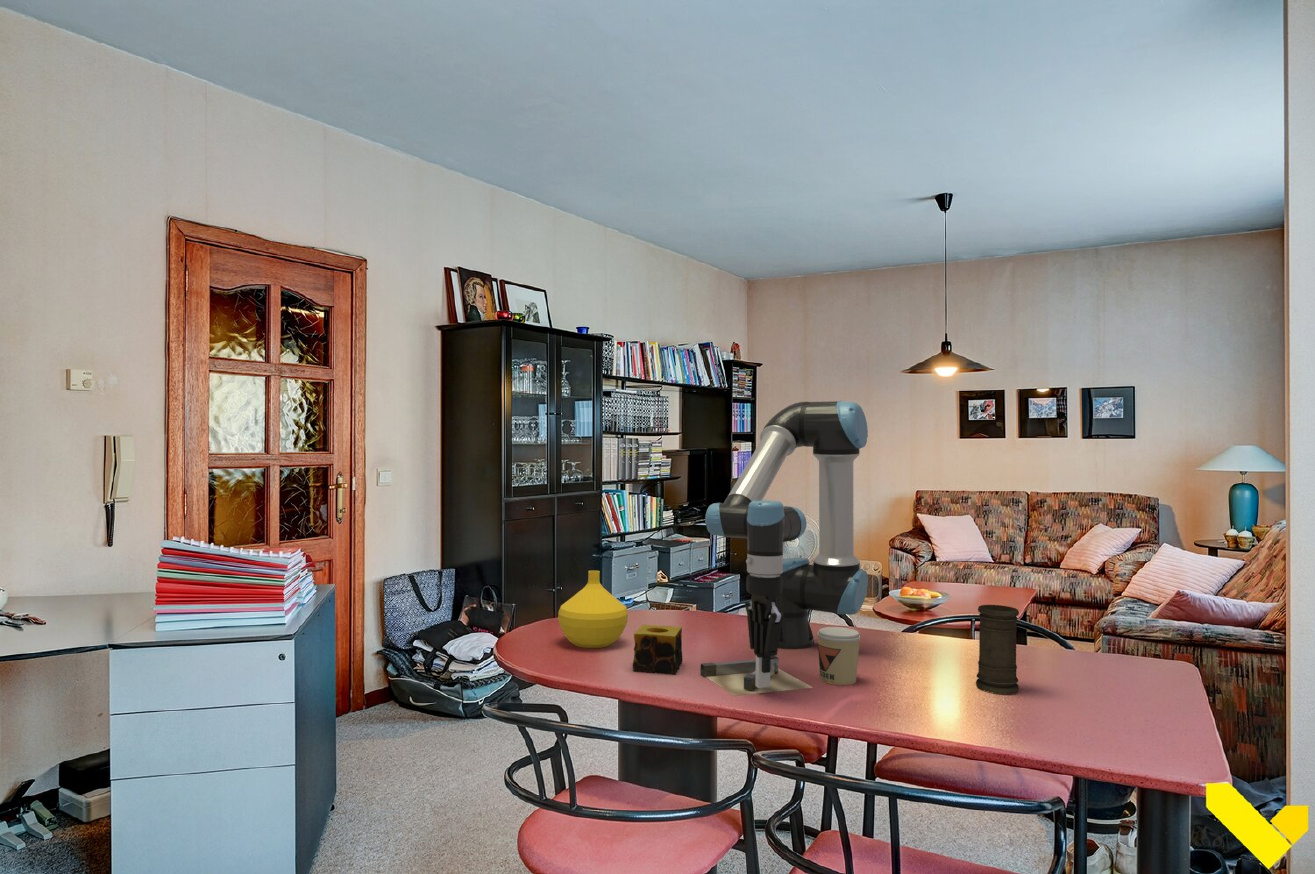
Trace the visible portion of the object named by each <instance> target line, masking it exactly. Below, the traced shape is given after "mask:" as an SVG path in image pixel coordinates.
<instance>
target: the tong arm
mask: <svg viewBox="0 0 1315 874" xmlns="http://www.w3.org/2000/svg"><path fill="white" fill-rule="evenodd" d="M774 657H777V655H776V656H772V657H771V658H774ZM770 666H771V667H770V678H771V677H773V676H774V665H773V664H771V665H770ZM755 676H756V671H754V672H753V673H751V674H748V675H746V676H745V677H744V689H747V690H754V689H755V688H757V687H756V686H755Z"/></svg>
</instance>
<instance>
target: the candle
mask: <svg viewBox="0 0 1315 874" xmlns="http://www.w3.org/2000/svg"><path fill="white" fill-rule="evenodd" d="M682 632H683V627H682V626H674V625H673V626H671V625H657V624H656V625H653V624H642V625H641V626H640V627H639V628H638V630H636V631H635V632H634V633H633V641H634V647H633V651H634V653H633V662H632V672H634V673H644V674H645V673H646V674H662V675H663V674H664V675H671V676H676V675H677V674H678V672H679V670H680V667H681V665H682V664H683V659H684V658H683V649H682V647H683V646H682V645H683V642H682V637H683V635H682V634H683V633H682Z"/></svg>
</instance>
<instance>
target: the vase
mask: <svg viewBox="0 0 1315 874" xmlns="http://www.w3.org/2000/svg"><path fill="white" fill-rule="evenodd" d="M600 573H601V572H600V570H588V573H587V574H588V575H587V576H588V579H587V583H586V585H585V586H584V587H583V588H582V589H581V590H579V591H577V593H575V594H574V595H573V596H571V597H570V598H569V599H568V600H567V601H565V602H564V603H563V604H561V605H560V607H559V610H558V613H557V615H558V616H557V620H558V623H559V626H560V629H561V632H562V633H563V635H564V636H565V637H566V639H567V640H568V642H570V643H571V644H573V645H574V646H576V647H579V648H582V649H583V648H584V649H600V648H601V649H602V648H607V647H610V646H612V645H613V644H614V643H615V642H616V641H618V640H619V639H620V637H621V635H622V634H624V631H625V628H626V626H627V624H628V615H629V614H628V613H629V611H628V608H627V606H626V605H625V604H623V603H622V601H620V600H619V599H618V598H616V597H615V596H613V594H611V593H610V592H609V591H608V590H607V589H606V588H604V587H603V585H602V584H601V582H600V579H601V578H600V577H601V575H600Z"/></svg>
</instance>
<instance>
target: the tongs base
mask: <svg viewBox="0 0 1315 874" xmlns="http://www.w3.org/2000/svg"><path fill="white" fill-rule="evenodd" d="M779 661H780V660H779V657H777V656H776V657H774V658H771V664H773V665H774V674H778V669H779V663H780V662H779ZM699 671H700V674H699V675H700V676H701V677H703V678H707V677H711V676H720V675H731V674H741V673H752V672H754V671H756V658H755V659H746V660H733V661H721V662H704V663H700V669H699Z"/></svg>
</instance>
